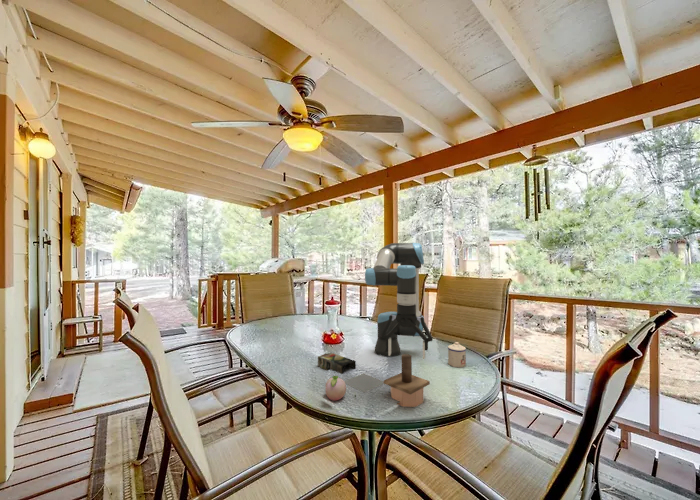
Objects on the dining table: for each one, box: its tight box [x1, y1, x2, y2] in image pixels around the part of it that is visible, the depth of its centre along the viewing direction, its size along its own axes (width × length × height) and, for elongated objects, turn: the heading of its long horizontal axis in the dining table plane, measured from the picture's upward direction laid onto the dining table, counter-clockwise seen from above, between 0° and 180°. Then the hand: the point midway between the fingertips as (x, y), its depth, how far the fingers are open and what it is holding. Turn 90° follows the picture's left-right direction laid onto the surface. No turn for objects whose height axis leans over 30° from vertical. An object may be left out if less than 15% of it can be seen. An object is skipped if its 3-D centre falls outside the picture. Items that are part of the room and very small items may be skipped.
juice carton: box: [317, 352, 357, 375], centre depth 153 cm, size 20×10×6 cm, turn 45°
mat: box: [343, 373, 385, 393], centre depth 133 cm, size 14×14×2 cm
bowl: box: [390, 386, 424, 408], centre depth 121 cm, size 12×12×6 cm
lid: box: [383, 353, 431, 394], centre depth 121 cm, size 13×13×11 cm
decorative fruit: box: [325, 375, 347, 401], centre depth 120 cm, size 9×8×10 cm
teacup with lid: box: [447, 341, 467, 368], centre depth 160 cm, size 12×9×12 cm
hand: (406, 356), depth 122 cm, fingers open, 13 cm apart
